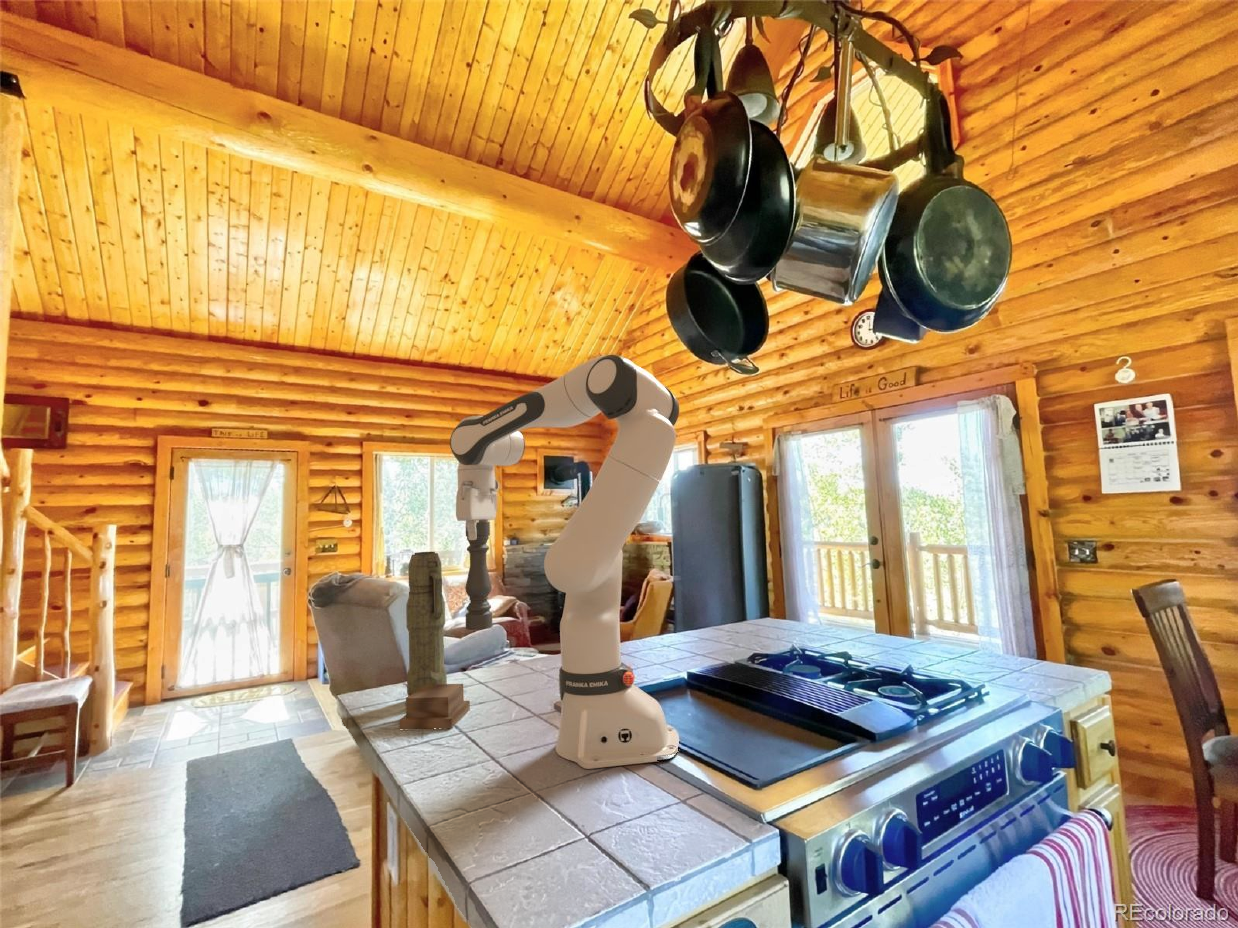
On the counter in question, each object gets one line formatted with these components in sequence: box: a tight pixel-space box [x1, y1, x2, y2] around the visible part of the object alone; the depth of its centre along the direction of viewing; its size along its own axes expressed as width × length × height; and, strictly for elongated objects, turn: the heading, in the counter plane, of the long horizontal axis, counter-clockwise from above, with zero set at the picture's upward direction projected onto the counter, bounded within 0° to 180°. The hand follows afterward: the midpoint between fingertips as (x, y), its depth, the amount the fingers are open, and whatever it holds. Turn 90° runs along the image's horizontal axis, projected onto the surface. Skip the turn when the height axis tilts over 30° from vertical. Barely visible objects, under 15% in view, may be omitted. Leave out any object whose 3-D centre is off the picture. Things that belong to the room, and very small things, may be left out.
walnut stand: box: [398, 683, 471, 730], centre depth 118 cm, size 11×11×6 cm
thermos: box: [405, 551, 448, 697], centre depth 132 cm, size 9×12×35 cm
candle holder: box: [464, 521, 493, 631], centre depth 133 cm, size 6×6×25 cm
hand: (478, 539), depth 133 cm, fingers closed on candle holder, 6 cm apart
